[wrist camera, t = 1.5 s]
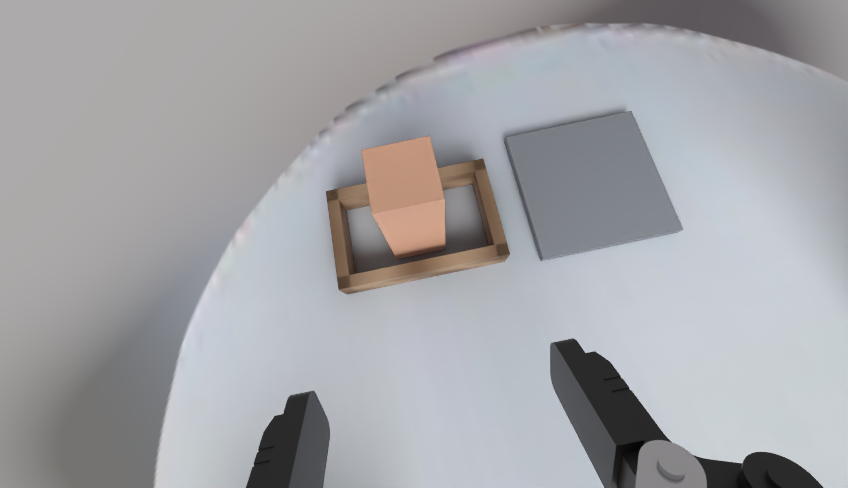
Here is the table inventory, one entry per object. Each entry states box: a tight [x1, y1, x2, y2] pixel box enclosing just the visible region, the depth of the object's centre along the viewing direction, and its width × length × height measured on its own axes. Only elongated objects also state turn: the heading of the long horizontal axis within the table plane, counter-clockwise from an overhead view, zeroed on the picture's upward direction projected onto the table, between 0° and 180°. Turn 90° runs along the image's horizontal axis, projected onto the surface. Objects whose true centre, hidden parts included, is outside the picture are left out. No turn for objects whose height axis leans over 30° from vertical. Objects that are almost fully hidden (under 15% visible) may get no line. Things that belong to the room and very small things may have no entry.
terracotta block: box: [361, 136, 445, 259], centre depth 27 cm, size 4×4×11 cm
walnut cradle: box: [326, 159, 510, 294], centre depth 31 cm, size 14×9×2 cm, turn 101°
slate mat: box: [505, 111, 683, 261], centre depth 32 cm, size 12×12×1 cm
